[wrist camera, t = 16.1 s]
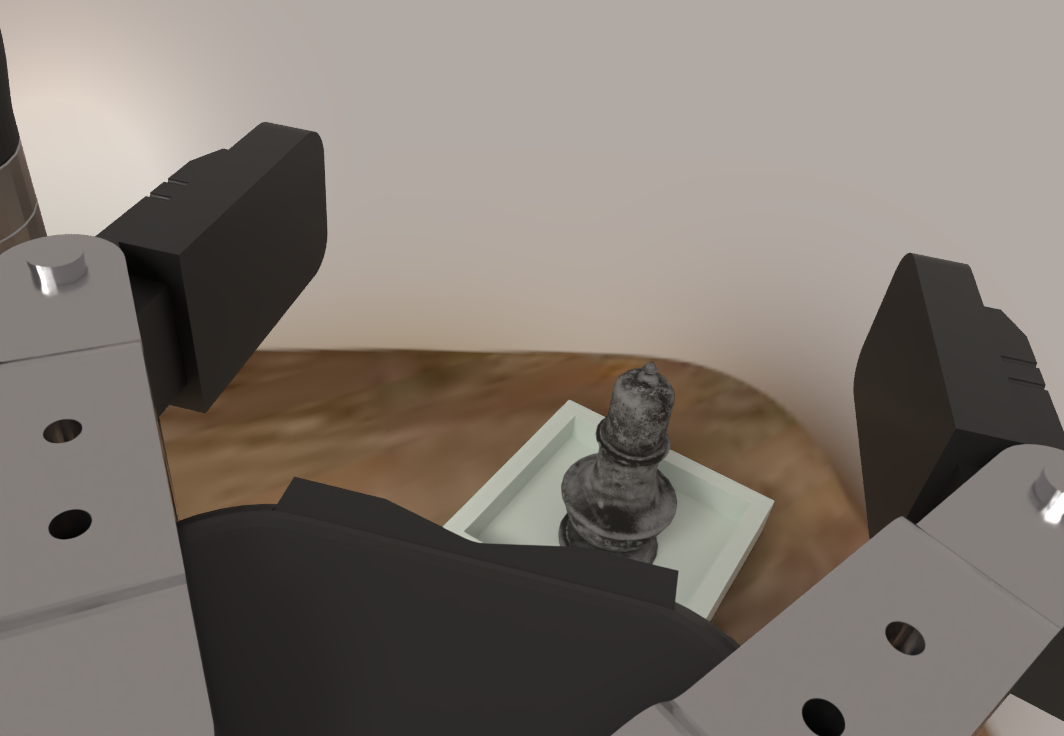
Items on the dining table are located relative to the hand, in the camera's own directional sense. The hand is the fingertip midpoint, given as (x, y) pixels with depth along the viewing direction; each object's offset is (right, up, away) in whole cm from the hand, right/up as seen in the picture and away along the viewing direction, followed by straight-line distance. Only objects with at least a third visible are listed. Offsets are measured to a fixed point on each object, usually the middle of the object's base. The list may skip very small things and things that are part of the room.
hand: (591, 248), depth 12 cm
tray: (+3, -11, +35) cm, 37 cm away
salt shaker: (+3, -11, +34) cm, 36 cm away
